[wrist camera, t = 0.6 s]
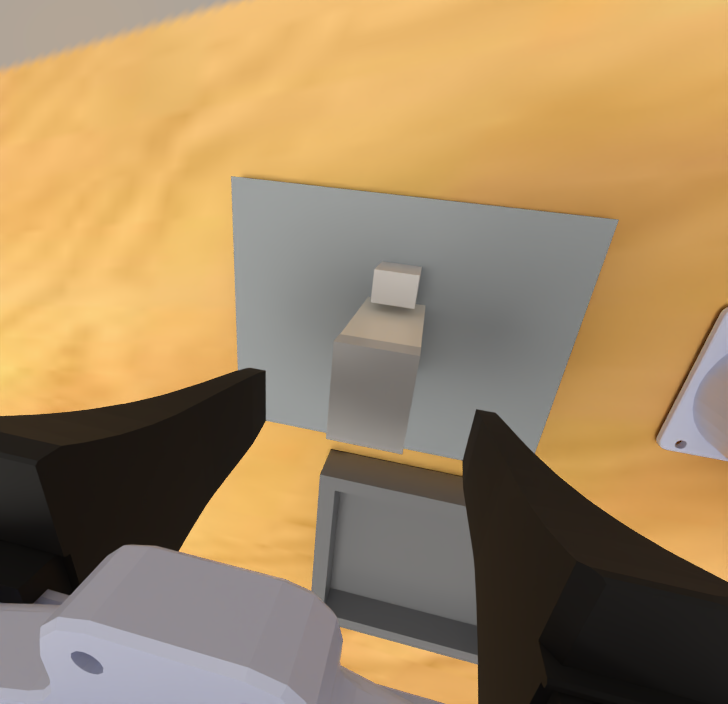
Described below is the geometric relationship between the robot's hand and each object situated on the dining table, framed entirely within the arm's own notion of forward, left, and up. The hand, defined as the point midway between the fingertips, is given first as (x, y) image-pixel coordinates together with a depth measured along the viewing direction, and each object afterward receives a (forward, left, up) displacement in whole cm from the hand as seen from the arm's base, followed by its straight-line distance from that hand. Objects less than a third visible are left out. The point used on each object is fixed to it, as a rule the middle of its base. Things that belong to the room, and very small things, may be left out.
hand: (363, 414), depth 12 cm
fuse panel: (0, 0, -9) cm, 9 cm away
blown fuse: (0, 0, -8) cm, 8 cm away
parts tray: (-4, +16, -9) cm, 19 cm away
